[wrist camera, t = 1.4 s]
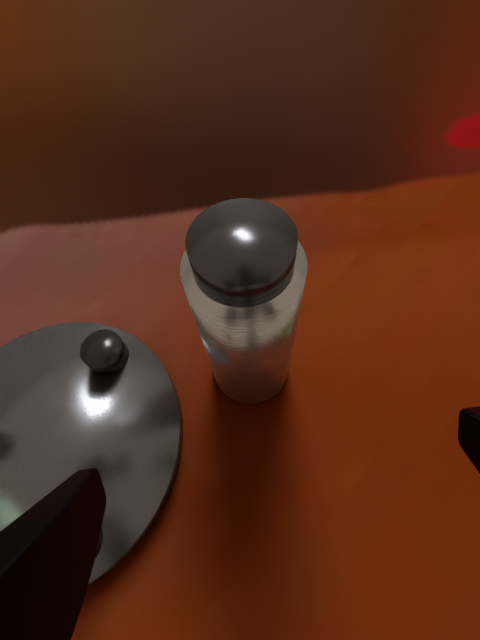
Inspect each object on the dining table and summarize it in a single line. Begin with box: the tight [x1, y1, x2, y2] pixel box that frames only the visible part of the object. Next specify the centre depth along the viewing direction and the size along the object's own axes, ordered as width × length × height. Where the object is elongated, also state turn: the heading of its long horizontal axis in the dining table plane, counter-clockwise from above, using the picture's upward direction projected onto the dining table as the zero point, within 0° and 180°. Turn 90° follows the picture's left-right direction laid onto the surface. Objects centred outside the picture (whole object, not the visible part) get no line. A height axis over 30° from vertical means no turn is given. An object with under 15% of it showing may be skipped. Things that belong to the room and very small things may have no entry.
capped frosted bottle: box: [180, 198, 307, 404], centre depth 18 cm, size 5×5×12 cm
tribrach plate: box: [0, 322, 183, 586], centre depth 20 cm, size 16×16×2 cm
